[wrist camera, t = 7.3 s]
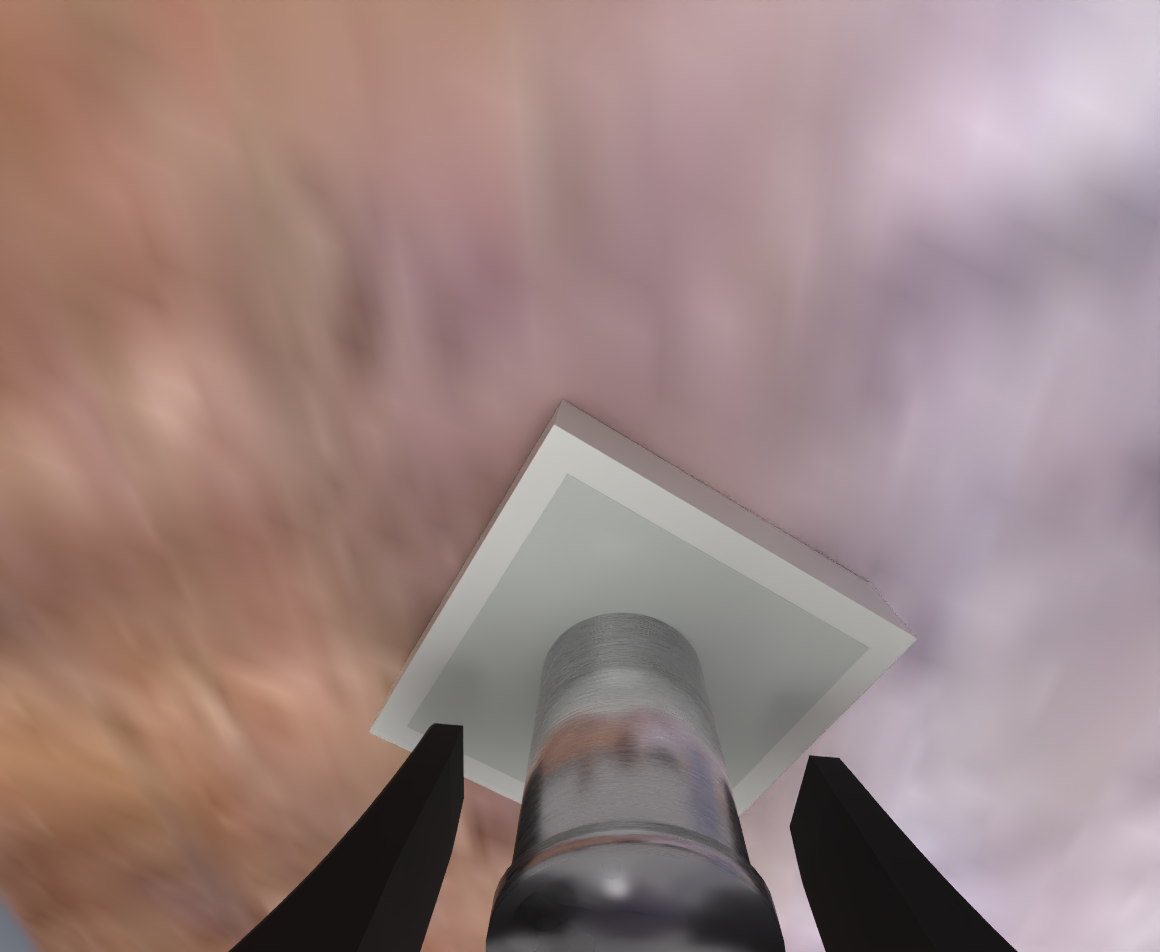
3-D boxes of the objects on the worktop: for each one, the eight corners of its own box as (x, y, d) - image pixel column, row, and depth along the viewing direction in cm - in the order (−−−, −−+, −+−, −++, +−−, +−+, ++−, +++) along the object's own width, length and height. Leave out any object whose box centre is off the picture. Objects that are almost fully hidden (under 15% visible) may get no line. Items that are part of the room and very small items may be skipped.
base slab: (870, 583, 15) (918, 640, 13) (668, 802, 19) (678, 879, 16) (562, 399, 14) (553, 425, 12) (400, 669, 17) (367, 733, 15)
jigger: (717, 606, 13) (804, 861, 7) (704, 751, 14) (767, 1055, 9) (531, 603, 13) (475, 848, 7) (537, 746, 15) (494, 1041, 9)
